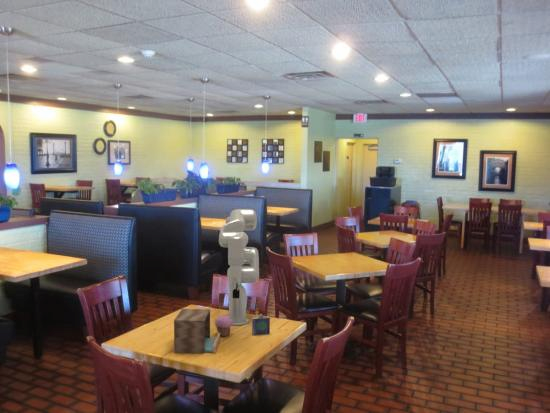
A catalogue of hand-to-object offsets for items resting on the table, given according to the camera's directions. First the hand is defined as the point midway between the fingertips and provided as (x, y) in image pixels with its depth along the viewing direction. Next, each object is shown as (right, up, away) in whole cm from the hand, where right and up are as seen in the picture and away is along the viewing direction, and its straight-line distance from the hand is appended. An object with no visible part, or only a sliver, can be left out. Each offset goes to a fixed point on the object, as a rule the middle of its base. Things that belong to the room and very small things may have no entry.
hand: (236, 297), depth 227 cm
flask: (+12, -22, +16) cm, 30 cm away
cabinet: (-21, -23, 0) cm, 31 cm away
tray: (-18, -23, -1) cm, 29 cm away
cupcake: (-7, -22, +14) cm, 27 cm away
